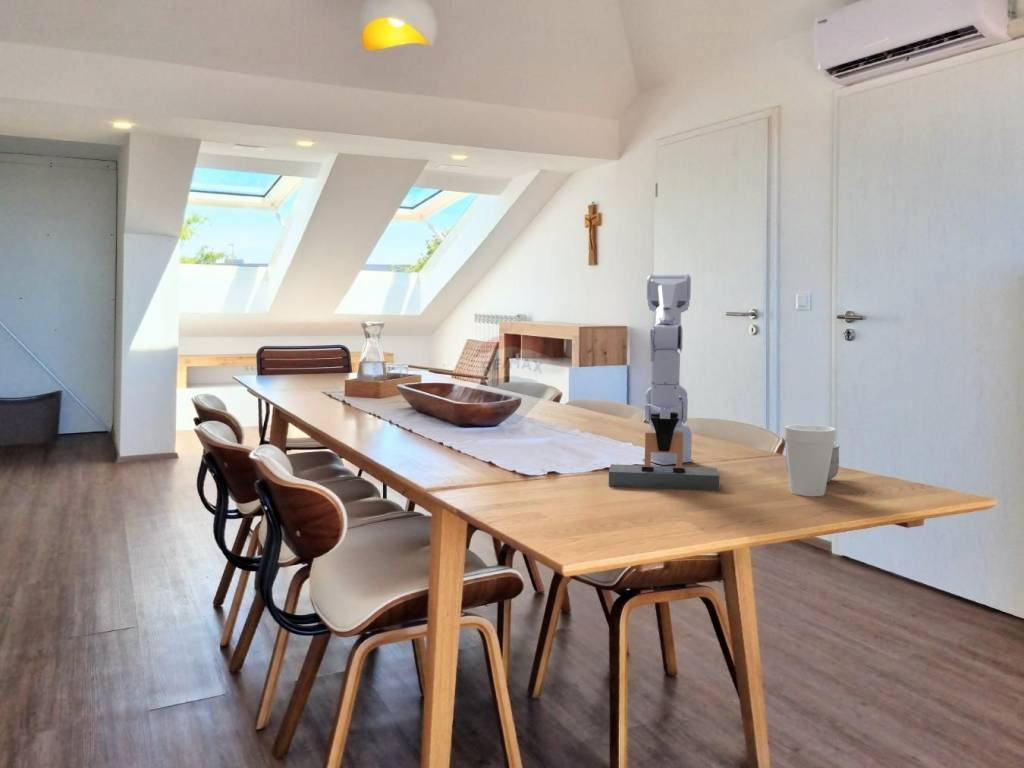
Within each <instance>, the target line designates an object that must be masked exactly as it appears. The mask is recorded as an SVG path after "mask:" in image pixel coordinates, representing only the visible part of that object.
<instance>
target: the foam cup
mask: <svg viewBox="0 0 1024 768" xmlns="http://www.w3.org/2000/svg"><path fill="white" fill-rule="evenodd" d="M783 431H784V432H783V436H784V437H783V439H785V445H786V448H785V452H786V451H787V461H788V471H789V473H788V480H789V481H788V482H789V488H790V492H791V493H792V494H794V495H797V496H805V497H821V496H824V495H825V493H826V492H825V491H826V490H827V489H826V488H827V483H828V482H827V478H828V472H829V467H830V461H831V456H832V450H833V445H834V444H835V442H836V436H837V435H836V433H837V432H836V431H837V429H836V428H835V427H833V426H827V425H819V424H805V423H803V424H802V423H801V424H798V423H797V424H796V423H795V424H787V425H785V426H784V430H783ZM788 471H787V472H788Z"/></svg>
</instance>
